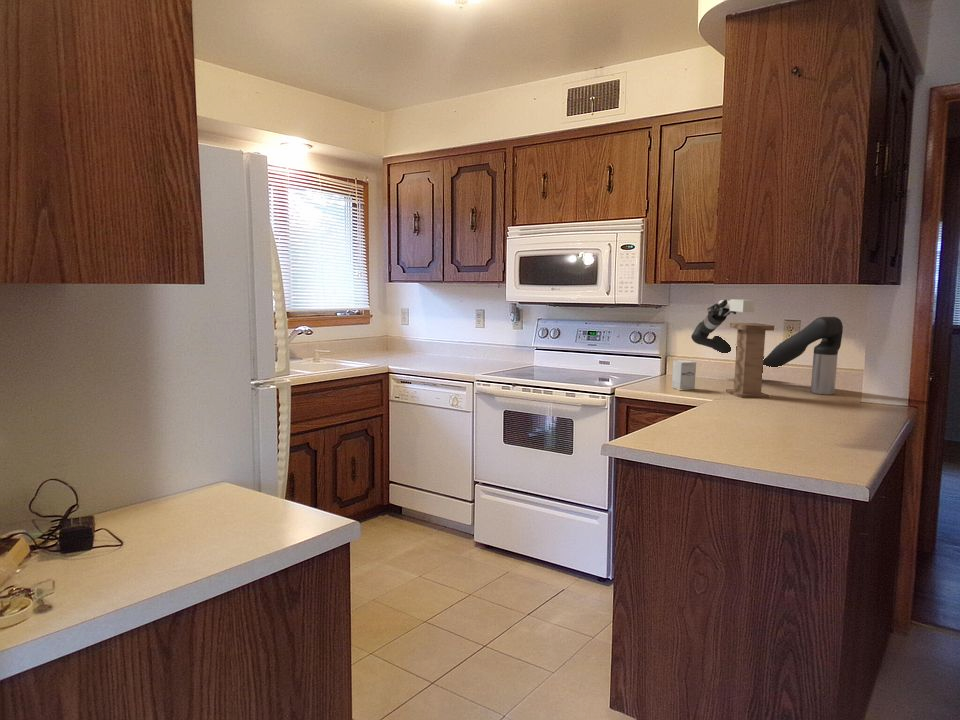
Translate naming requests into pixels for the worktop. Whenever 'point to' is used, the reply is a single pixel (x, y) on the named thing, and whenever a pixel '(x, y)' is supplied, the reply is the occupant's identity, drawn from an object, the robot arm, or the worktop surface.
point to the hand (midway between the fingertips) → (730, 301)
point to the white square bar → (740, 305)
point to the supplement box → (684, 374)
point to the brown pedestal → (749, 360)
